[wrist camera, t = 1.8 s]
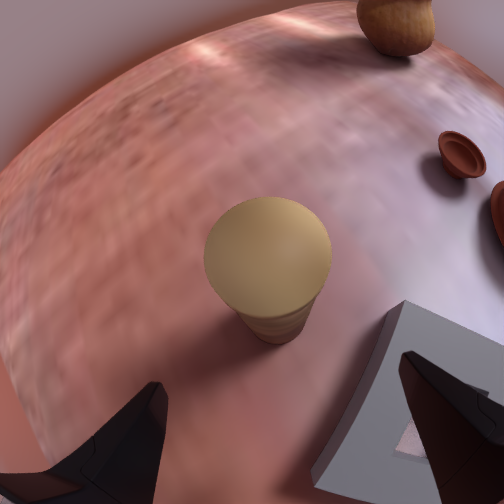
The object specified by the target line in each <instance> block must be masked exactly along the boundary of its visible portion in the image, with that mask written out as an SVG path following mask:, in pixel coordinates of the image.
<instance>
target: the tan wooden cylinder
mask: <svg viewBox="0 0 504 504" xmlns="http://www.w3.org/2000/svg"><path fill="white" fill-rule="evenodd" d="M331 260H332V250H331V243H330V239H329V236H328V234H327V231H326V229H325V227H324V226H323V224H322V223H321V221H320V220H319V219H318V218H317V217H316V216H315V215H314V214H313V213H312V212H311V211H310V210H309V209H307V208H306V207H304V206H302V205H301V204H299V203H296V202H294V201H291V200H288V199H284V198H279V197H260V198H255V199H251V200H247V201H245V202H242V203H240V204H238V205H236V206H234V207H233V208H231V209H230V210H228V211H227V212H226V213H225V214H224V215H222V216H221V217H220V219H219V220H218V221H217V222H216V223H215V225H214V226H213V228H212V229H211V231H210V233H209V235H208V238H207V241H206V244H205V249H204V266H205V271H206V274H207V277H208V280H209V282H210V284H211V286H212V287H213V289H214V290H215V292H216V293H217V294H218V295H219V296H220V298H221V299H222V300H223V301H224V302H225V303H226V304H227V305H228V306H229V307H231V308H232V309H233V310H235V311H236V313H237V314H238V315H239V316H240V317H241V318H242V320H243V321H244V322H245V323H246V324H247V325H248V327H249V328H250V329H251V330H252V331H253V332H254V334H255V335H256V336H257V337H258V338H260V339H261V340H263V341H265V342H267V343H271V344H283V343H287V342H289V341H291V340H293V339H294V338H296V337H297V336H298V335H299V334H300V332H301V331H302V329H303V327H304V325H305V323H306V320H307V318H308V316H309V313H310V311H311V308H312V306H313V304H314V301H315V299H316V297H317V296H318V294H319V293H320V291H321V289H322V288H323V286H324V283H325V281H326V279H327V276H328V273H329V271H330V266H331Z"/></svg>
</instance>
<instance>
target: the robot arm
mask: <svg viewBox="0 0 504 504" xmlns="http://www.w3.org/2000/svg"><path fill="white" fill-rule="evenodd" d="M398 372H399V376H400V379H401V383H402V386H403V390H404V394H405V397H406V401H407V404H408V407H409V410H410V412H411V415H412V417H413V420H414V423H415V425H416V428H417V430H418V433H419V436H420V438H421V441H422V444H423V447H424V449H425V452H426V455H427V458H428V461H429V464H430V467H431V470H432V473H433V476H434V479H435V482H436V485H437V489H438V492H439V496H440V499H441V503H442V504H504V406H503V405H501V404H499V403H497V402H495V401H493V400H491V399H490V398H488V397H486V396H485V395H483V394H481V393H480V392H477V390H475V389H473V388H472V387H470V386H469V385H467V384H465V383H464V382H462V381H461V380H459V379H458V378H456V377H454V376H453V375H451V374H450V373H448V372H446V371H445V370H443V369H442V368H440V367H438V366H437V365H435V364H434V363H432V362H430V361H429V360H427V359H426V358H424V357H423V356H421V355H419V354H418V353H416V352H415V351H412V350H410V351H407V352H403V353H402V355H401V359H400V363H399V367H398ZM167 411H168V395H167V393H166V391H165V389H164V387H163V385H162V383H161V382H155V381H151V382H149V383H148V384H147V385H146V386H145V387H144V388H143V389H142V390H141V391H140V392H139V393H137V394H136V395H135V396H134V397H133V398H132V399H131V400H130V401H129V402H128V403H127V404H126V405H125V406H124V407H123V408H122V409H121V410H119V411H118V412H117V413H116V414H115V415H114V416H113V417H112V418H111V419H110V420H109V421H108V422H107V423H106V424H105V425H103V426H102V427H101V428H100V429H99V430H98V431H97V432H96V433H95V434H94V436H91V437H90V438H89V439H88V440H87V441H86V442H85V443H84V444H83V445H81V446H80V447H79V448H78V449H76V450H75V451H74V452H73V453H71V454H70V455H69V456H67V457H66V458H64V459H63V460H62V461H60V462H59V463H57V464H56V465H55V466H53V467H52V468H50V469H48V470H46V471H43V472H38V473H17V474H16V473H9V474H8V473H0V494H1V495H2V496H4V497H3V499H2V501H1V504H153V498H154V492H155V487H156V481H157V476H158V470H159V465H160V460H161V454H162V449H163V444H164V439H165V434H166V423H167Z"/></svg>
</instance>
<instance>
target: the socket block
mask: <svg viewBox="0 0 504 504" xmlns="http://www.w3.org/2000/svg"><path fill="white" fill-rule="evenodd" d="M410 350H412V351H415V352H416V353H418V354H419V355H421V356H423V357H424V358H426V359H427V360H429V361H430V362H432V363H434V364H435V365H437V366H438V367H440V368H442V369H443V370H445V371H446V372H448V373H450V374H451V375H453V376H454V377H456V378H458V379H459V380H461V381H462V382H464V383H465V384H467V385H469V386H470V387H472V388H473V389H475V390H477V392H480V393H481V394H483V395H485V396H486V397H488V398H490V399H491V400H493V401H495V402H497V403H499V404H501V405H503V406H504V346H503V345H501V344H499V343H497V342H495V341H492V340H490V339H488V338H486V337H484V336H482V335H480V334H478V333H476V332H474V331H471V330H469V329H467V328H465V327H463V326H461V325H459V324H457V323H454V322H452V321H450V320H448V319H446V318H444V317H441V316H439V315H437V314H435V313H433V312H431V311H428V310H426V309H424V308H422V307H420V306H418V305H415V304H413V303H411V302H409V301H407V300H404V301H403V302H401V303H400V304H398V305H397V306H395V307H394V308H392V309H390V310H389V311H388V314H387V317H386V320H385V322H384V325H383V328H382V330H381V333H380V335H379V338H378V341H377V343H376V345H375V348H374V350H373V353H372V355H371V357H370V360H369V362H368V364H367V367H366V369H365V371H364V373H363V375H362V378H361V380H360V382H359V384H358V386H357V388H356V390H355V392H354V394H353V396H352V398H351V400H350V402H349V404H348V406H347V408H346V410H345V412H344V414H343V416H342V418H341V420H340V421H339V423H338V425H337V427H336V429H335V430H334V432H333V434H332V436H331V437H330V439H329V441H328V443H327V444H326V446H325V448H324V449H323V451H322V452H321V454H320V456H319V457H318V459H317V461H316V462H315V464H314V465H313V467H312V468H311V470H310V472H311V476H312V480H313V485H314V487H316V488H319V489H322V490H325V491H328V492H332V493H335V494H338V495H342V496H346V497H349V498H353V499H357V500H361V501H366V502H370V503H375V504H442V503H441V499H440V496H439V492H438V489H437V485H436V482H435V479H434V476H433V473H432V470H431V467H430V464H429V461H428V459H427V458H423V457H419V456H415V455H411V454H407V453H403V452H400V451H396V450H395V448H396V446H397V445H398V443H399V441H400V439H401V437H402V435H403V433H404V431H405V429H406V427H407V425H408V423H409V421H410V419H411V417H412V415H411V412H410V410H409V407H408V404H407V401H406V397H405V394H404V390H403V386H402V383H401V379H400V376H399V372H398V367H399V363H400V359H401V355H402V353H403V352H407V351H410Z"/></svg>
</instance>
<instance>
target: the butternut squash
mask: <svg viewBox="0 0 504 504" xmlns="http://www.w3.org/2000/svg"><path fill="white" fill-rule="evenodd" d="M431 1H432V0H359V2H358V5H357V18H358V22H359V25H360V27H361V29H362V31H363V32H364V34H365V35H366V37H367V38H368V39H369V40H370V41H371V43H372V44H373V45H374V46H375V47H376V49H377V50H378V51H379V52H380V53H381V54H386V55H390V56H410V55H416V54H419V53H421V52H423V51H425V50H426V49H428V48H429V47H430V46H431V44H432V41H433V39H434V33H435V24H434V17H433V13H432V9H431Z"/></svg>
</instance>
